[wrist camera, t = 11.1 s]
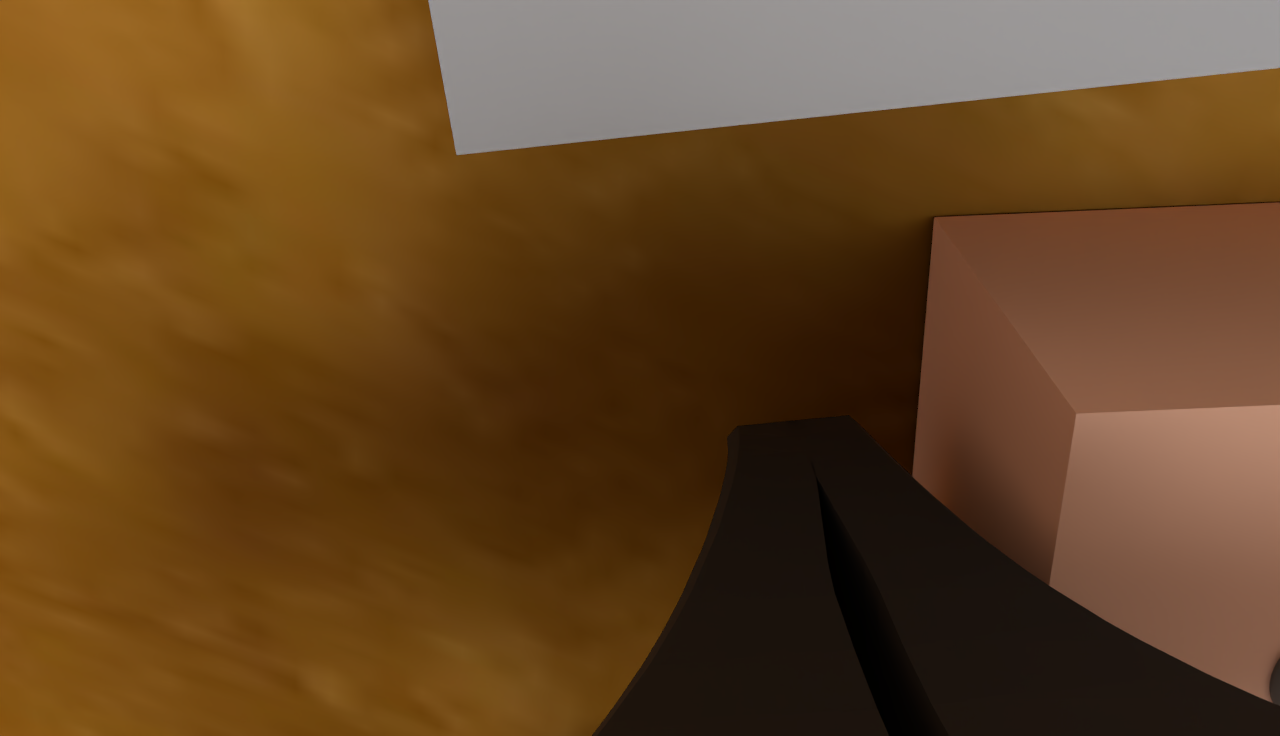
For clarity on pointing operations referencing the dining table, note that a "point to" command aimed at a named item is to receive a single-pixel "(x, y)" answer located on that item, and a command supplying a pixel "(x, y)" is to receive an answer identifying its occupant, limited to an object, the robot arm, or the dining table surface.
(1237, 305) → the block
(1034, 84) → the bay
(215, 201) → the dining table surface
